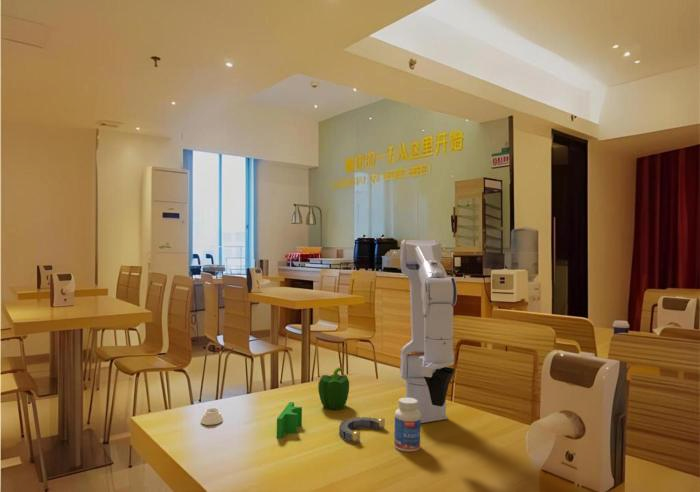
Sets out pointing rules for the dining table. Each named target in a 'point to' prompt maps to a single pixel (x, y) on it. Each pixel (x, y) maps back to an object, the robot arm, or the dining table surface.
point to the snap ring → (358, 422)
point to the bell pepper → (334, 390)
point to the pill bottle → (407, 425)
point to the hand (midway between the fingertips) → (438, 404)
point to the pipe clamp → (289, 420)
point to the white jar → (212, 417)
